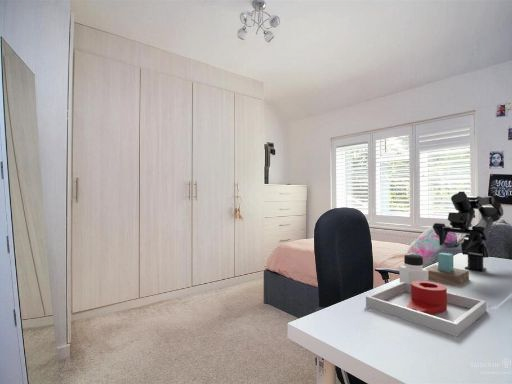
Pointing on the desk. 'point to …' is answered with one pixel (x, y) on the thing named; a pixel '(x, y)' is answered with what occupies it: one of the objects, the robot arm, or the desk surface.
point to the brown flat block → (448, 275)
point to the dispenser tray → (422, 318)
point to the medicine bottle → (413, 269)
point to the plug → (445, 262)
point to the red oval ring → (428, 297)
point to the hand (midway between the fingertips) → (452, 246)
